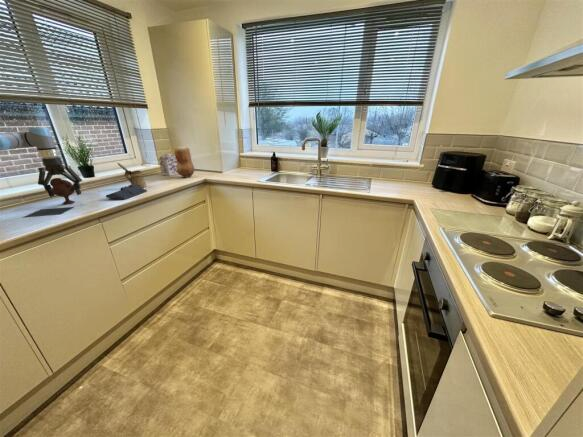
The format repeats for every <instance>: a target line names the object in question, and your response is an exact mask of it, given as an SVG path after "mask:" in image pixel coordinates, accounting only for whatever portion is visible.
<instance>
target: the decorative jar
mask: <svg viewBox="0 0 583 437" xmlns="http://www.w3.org/2000/svg"><path fill="white" fill-rule="evenodd" d="M158 162H159V166H160V171H161V175H162V176H167V177H171V176H177V175H179V174H178V172H177V160H176V157H175V154H171V153H169V152H167V153H164V155H161V156H160V157H159V158H158Z"/></svg>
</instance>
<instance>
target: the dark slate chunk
mask: <svg viewBox="0 0 583 437" xmlns="http://www.w3.org/2000/svg"><path fill="white" fill-rule="evenodd" d="M147 191H148V190H147V188H144V187H143V188H142V186H140V185H135V184H131V183H130V184H129V185H127V186H126V185H125V186H122V187H120V190H116V191H114V192H111V193H108V194H106V195H105V198H108V199H116V200H127V199H130V198H134V197H136V196H139V195H142V194H143V193H147Z"/></svg>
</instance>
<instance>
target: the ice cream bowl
mask: <svg viewBox="0 0 583 437" xmlns="http://www.w3.org/2000/svg"><path fill="white" fill-rule="evenodd" d="M49 185H50V186H51V189H49V190H50V191H51V192H52V193H53V194H54V195H55V196H57V197H60V198H64V202H62V203H61V204H62V206H67V205H72V204H75V203H76V202H75V201H74V200H71V199H70V196H71V195H73V194H74V193H75V192H76V191H75V188H74V185H73V184H72V181H70V180H67V179H62V178H61V177H54V178H51V179H50V181H49Z"/></svg>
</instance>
